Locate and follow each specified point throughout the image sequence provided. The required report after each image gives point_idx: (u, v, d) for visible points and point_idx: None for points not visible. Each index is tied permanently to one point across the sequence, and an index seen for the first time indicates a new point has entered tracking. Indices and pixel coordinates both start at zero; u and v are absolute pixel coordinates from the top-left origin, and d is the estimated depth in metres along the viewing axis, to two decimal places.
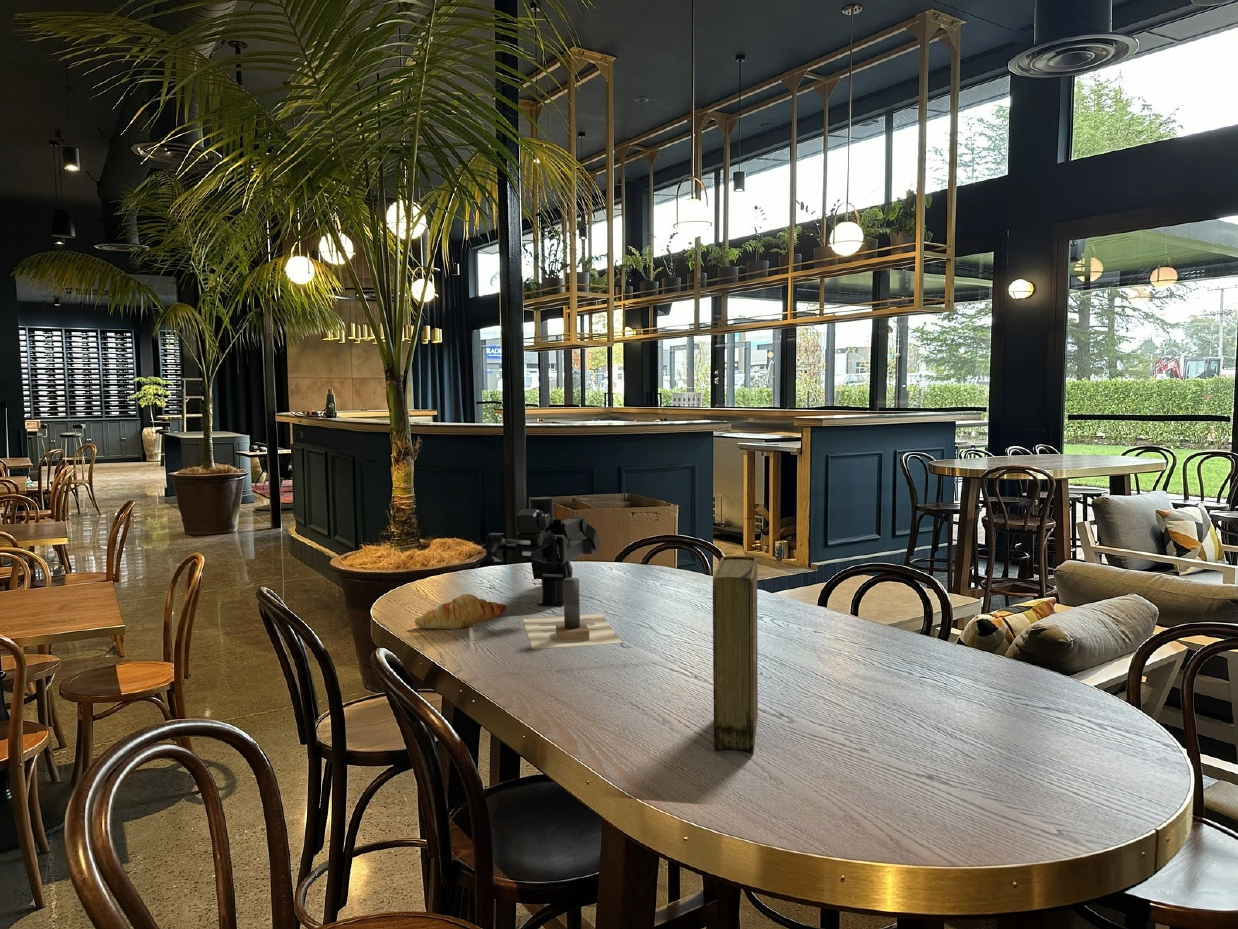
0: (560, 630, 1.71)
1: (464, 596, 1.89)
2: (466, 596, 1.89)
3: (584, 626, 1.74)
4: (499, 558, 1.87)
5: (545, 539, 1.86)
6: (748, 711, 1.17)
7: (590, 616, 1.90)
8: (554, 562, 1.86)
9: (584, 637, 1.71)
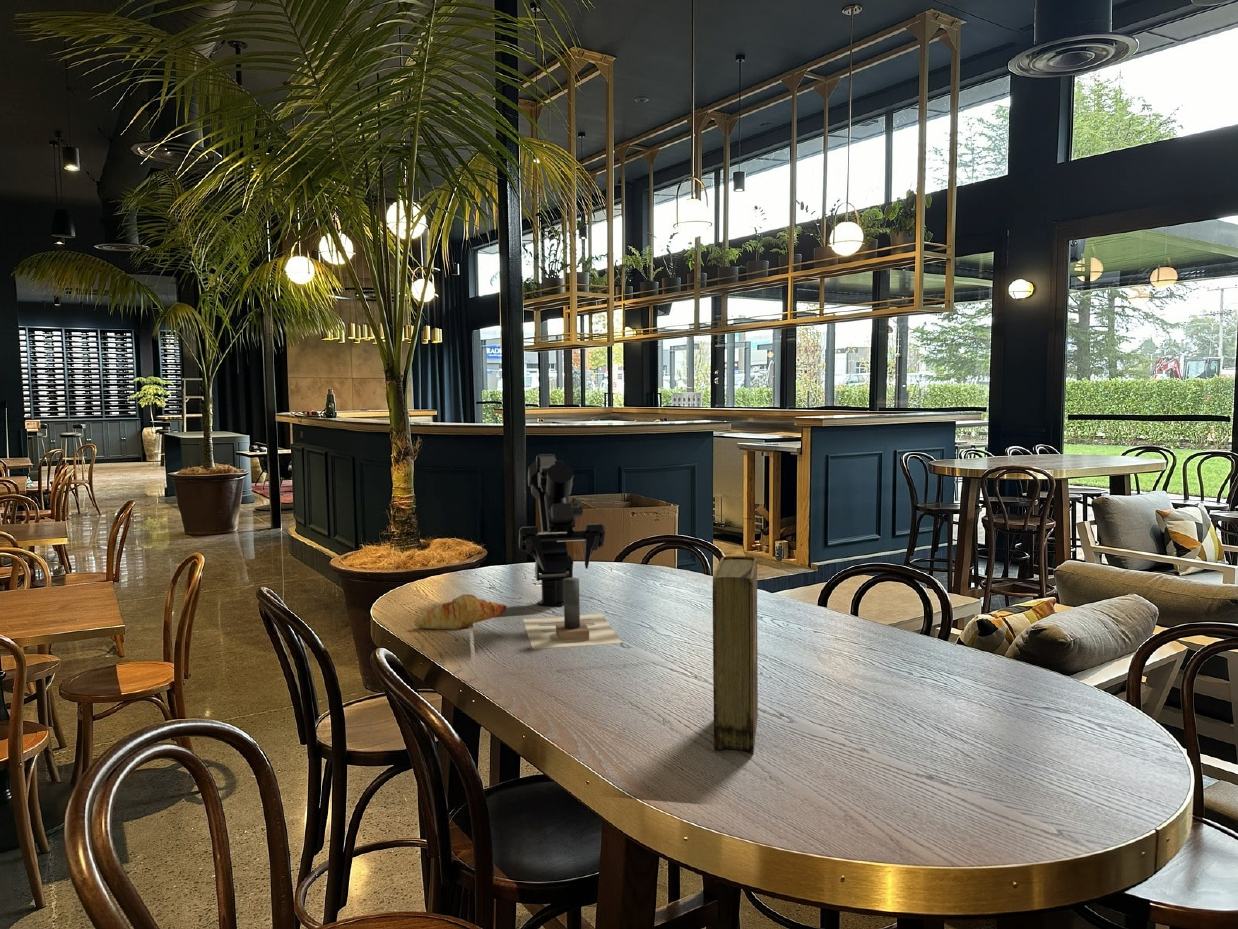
0: (560, 630, 1.71)
1: (464, 596, 1.89)
2: (466, 596, 1.88)
3: (584, 626, 1.74)
4: None
5: (588, 537, 1.83)
6: (748, 711, 1.17)
7: (590, 616, 1.90)
8: (594, 549, 1.88)
9: (584, 637, 1.71)
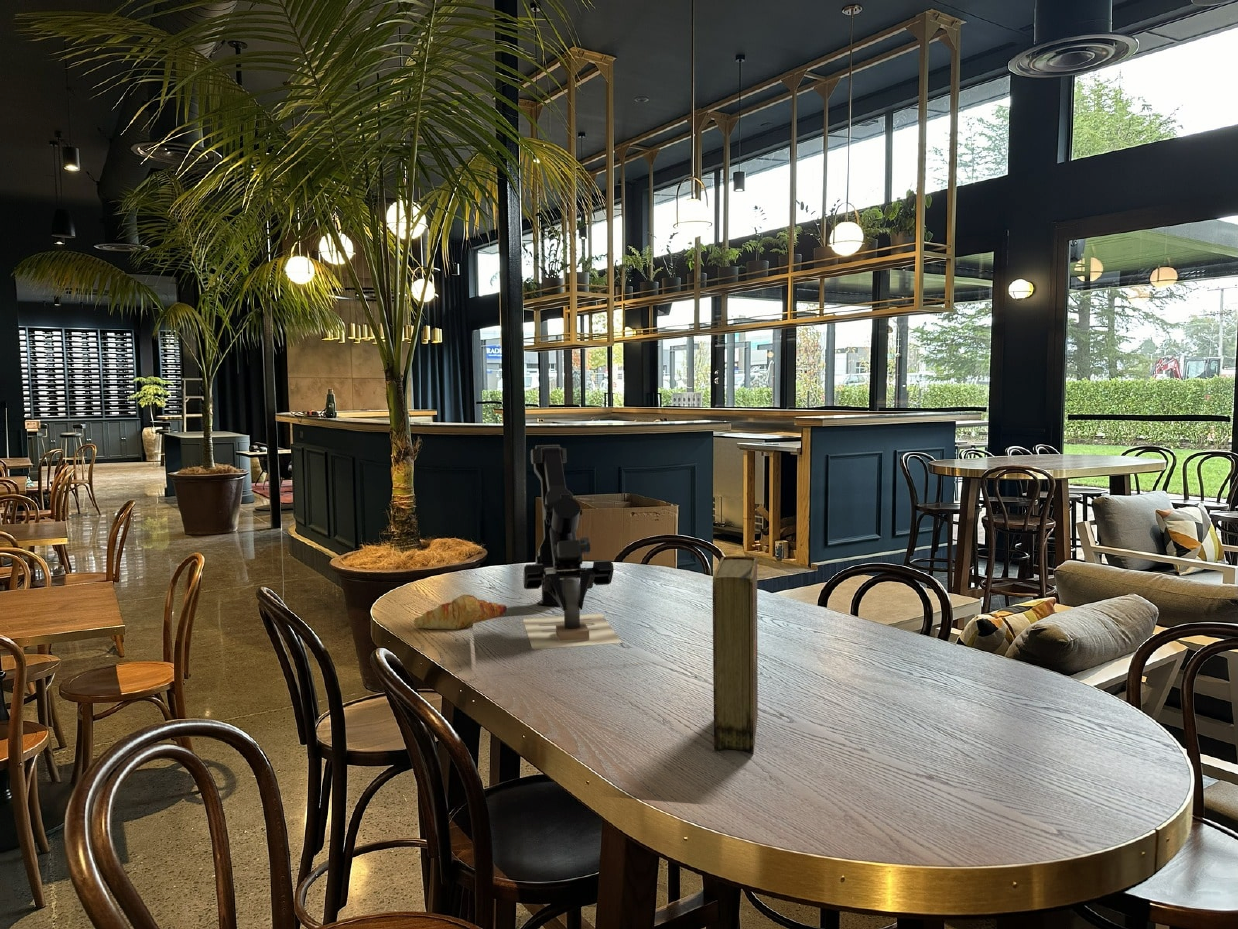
0: (560, 630, 1.71)
1: (464, 596, 1.88)
2: (466, 596, 1.88)
3: (584, 626, 1.74)
4: None
5: (583, 576, 1.75)
6: (748, 711, 1.17)
7: (590, 616, 1.90)
8: (589, 588, 1.79)
9: (584, 637, 1.71)
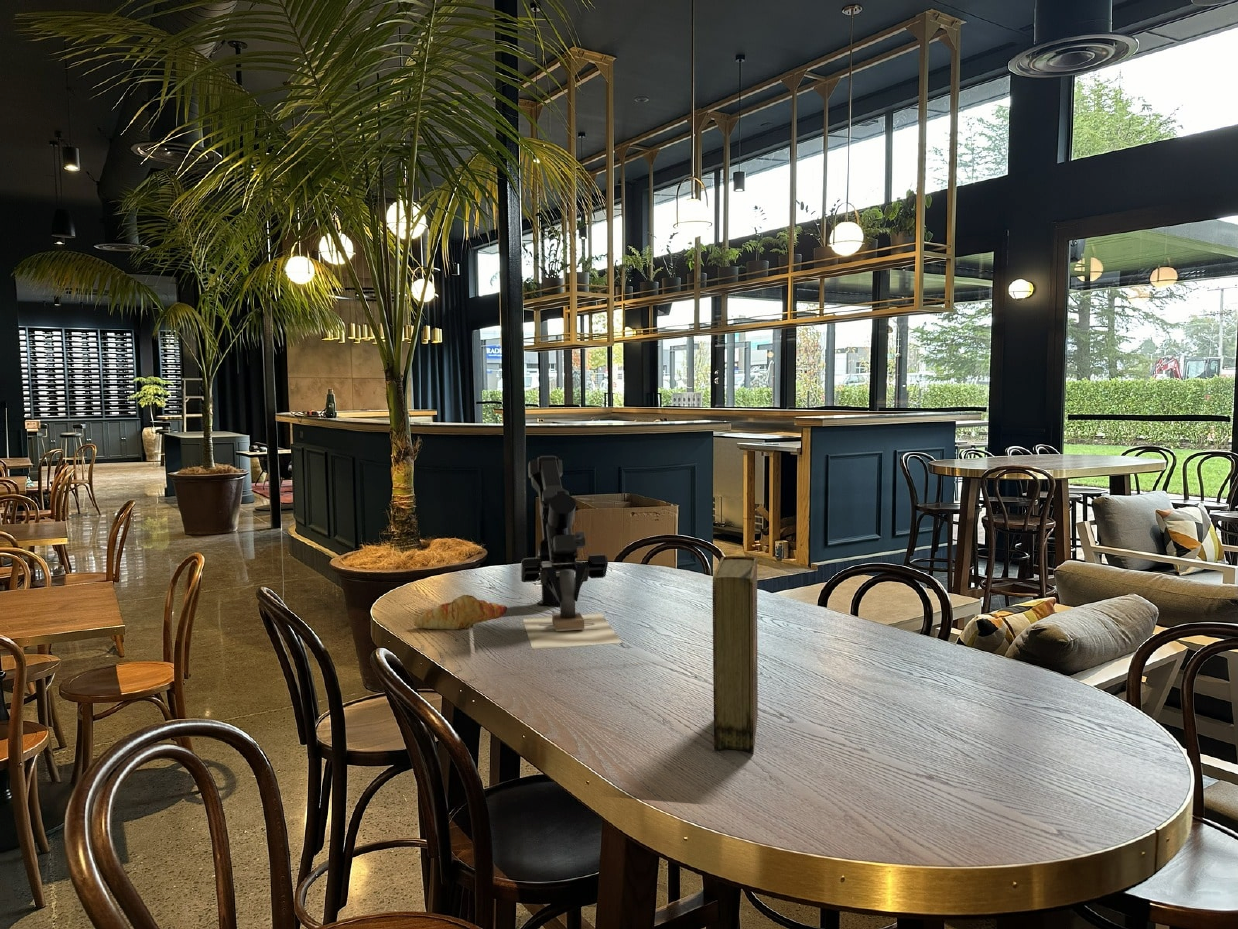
0: (556, 620, 1.78)
1: (463, 597, 1.88)
2: (465, 597, 1.88)
3: (579, 616, 1.80)
4: None
5: (578, 569, 1.81)
6: (748, 711, 1.17)
7: (590, 616, 1.90)
8: (584, 581, 1.86)
9: (579, 626, 1.77)
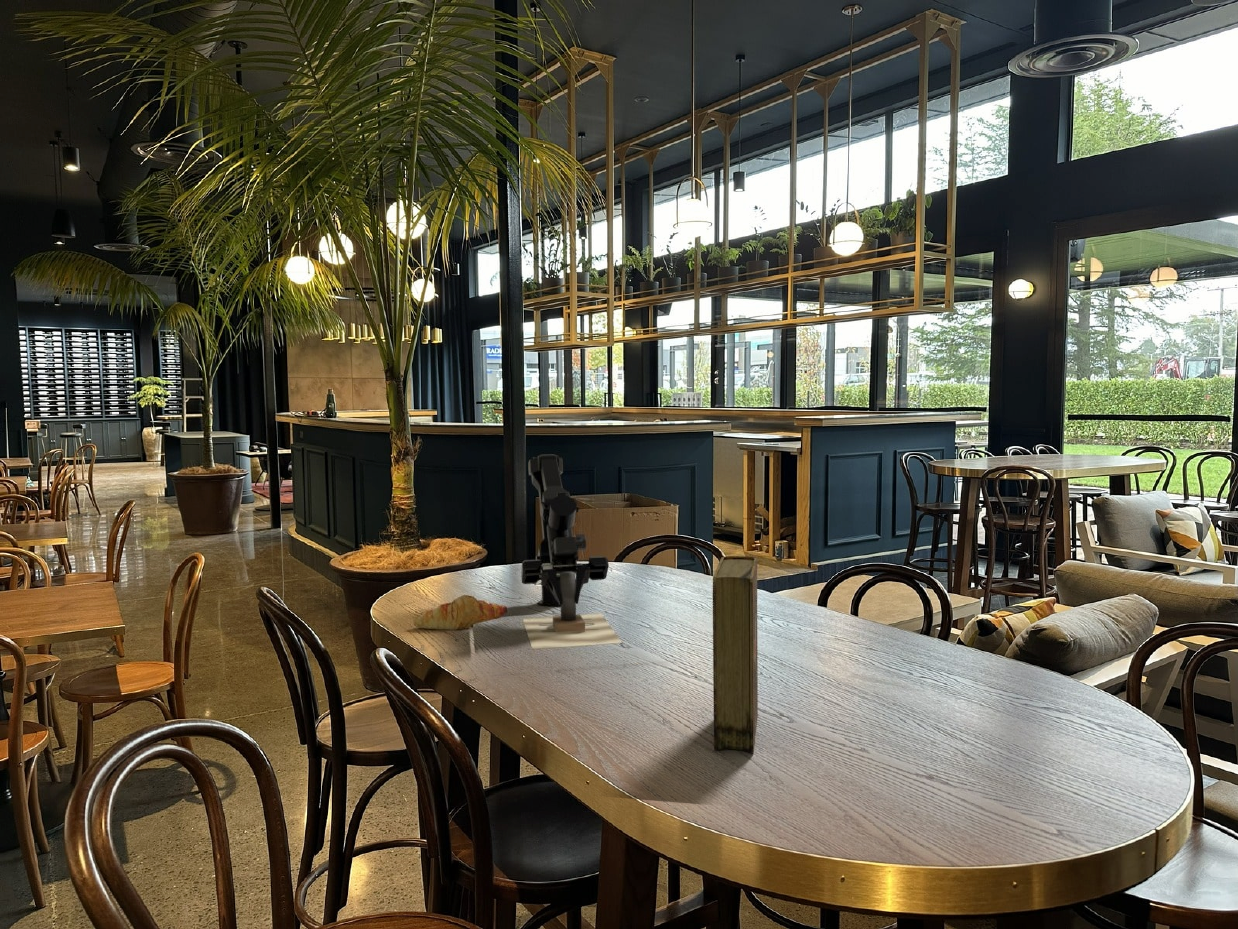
0: (557, 622, 1.77)
1: (463, 597, 1.88)
2: (465, 597, 1.88)
3: (580, 618, 1.80)
4: None
5: (579, 571, 1.81)
6: (748, 711, 1.17)
7: (590, 616, 1.90)
8: (585, 583, 1.85)
9: (580, 629, 1.77)
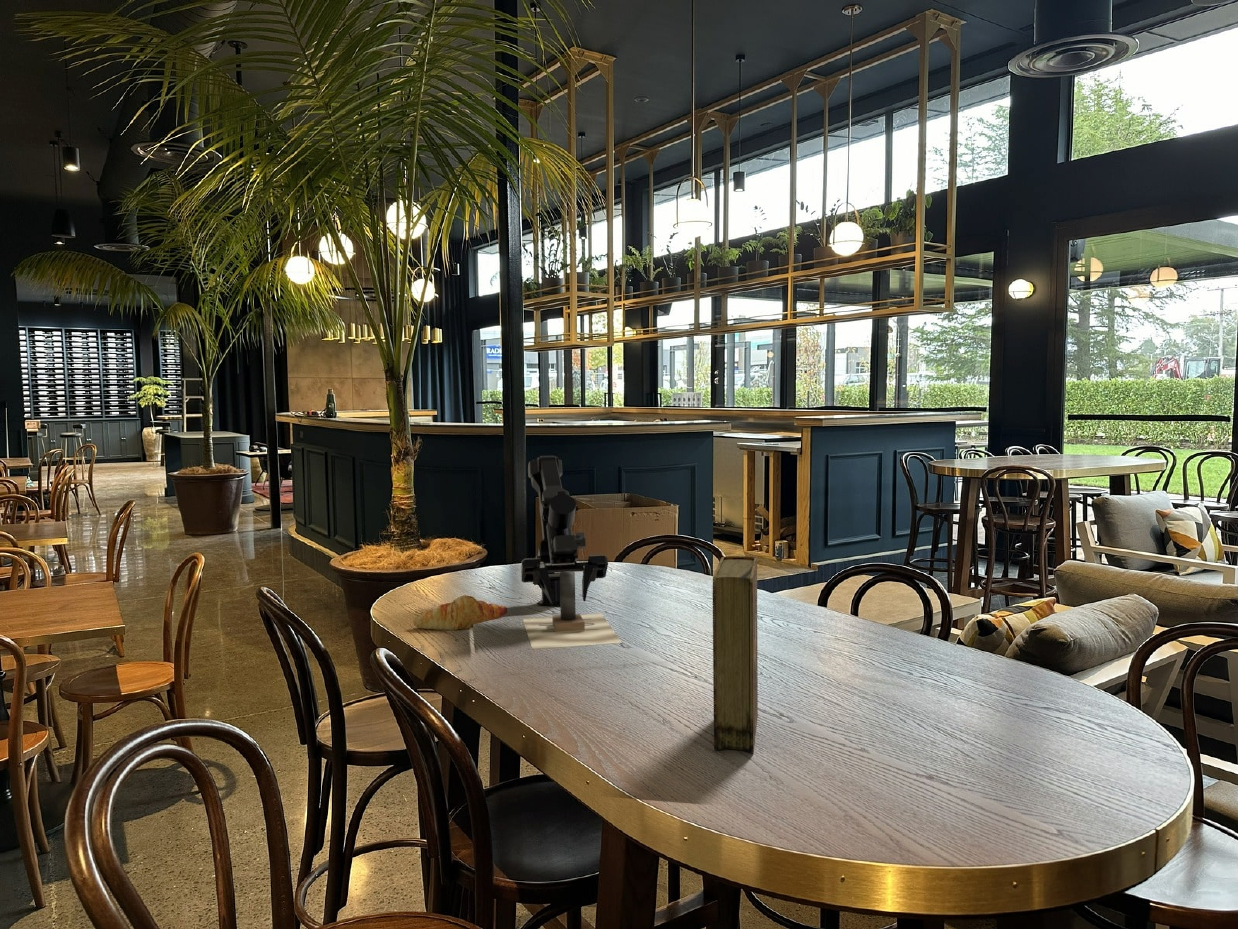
0: (556, 622, 1.78)
1: (463, 597, 1.88)
2: (465, 597, 1.87)
3: (580, 618, 1.80)
4: None
5: (586, 569, 1.82)
6: (748, 711, 1.17)
7: (590, 616, 1.90)
8: (592, 581, 1.86)
9: (579, 628, 1.77)
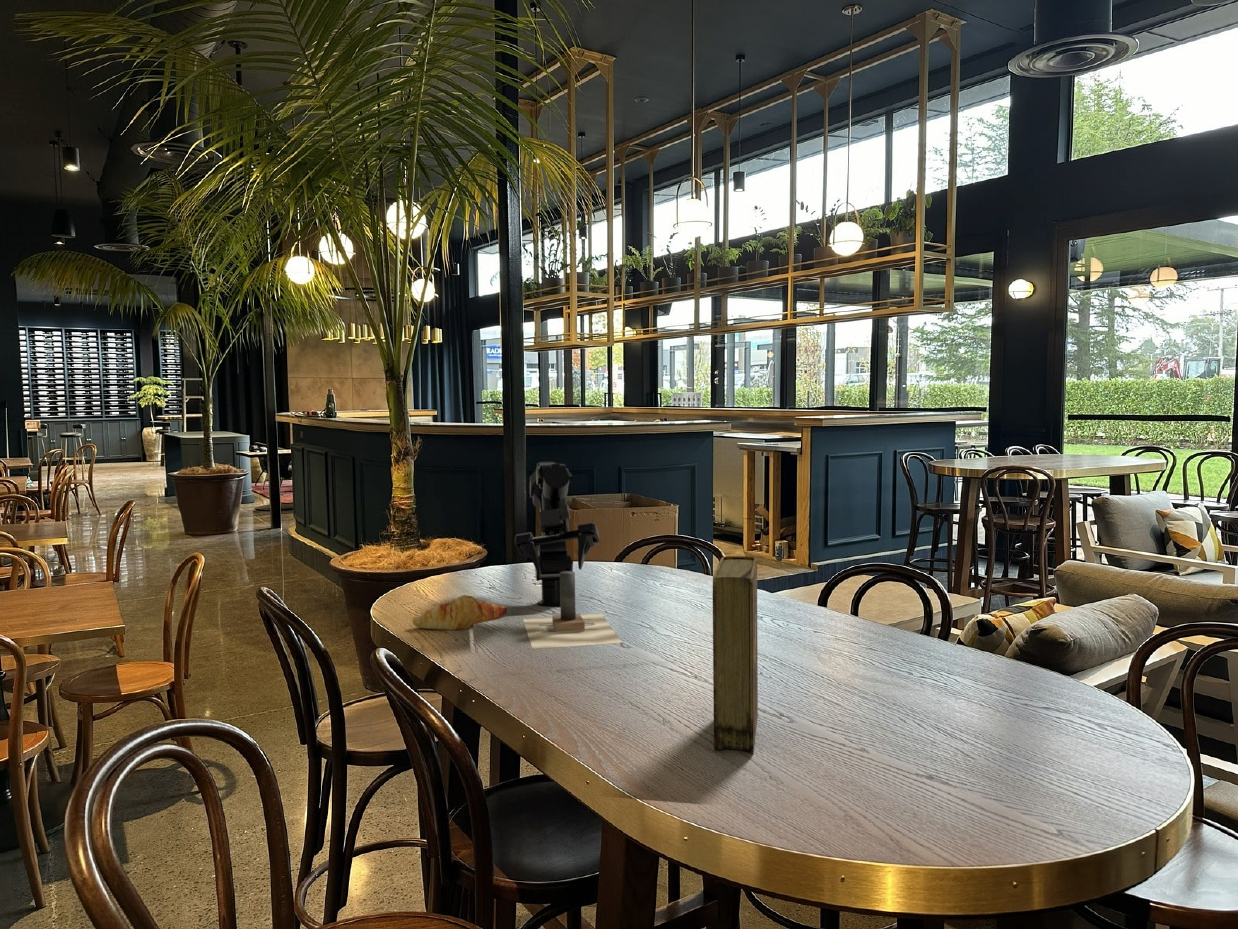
0: (556, 622, 1.78)
1: (463, 597, 1.87)
2: (464, 597, 1.87)
3: (580, 618, 1.80)
4: (539, 561, 1.90)
5: (579, 538, 1.87)
6: (748, 711, 1.17)
7: (590, 616, 1.90)
8: (591, 546, 1.91)
9: (579, 628, 1.77)
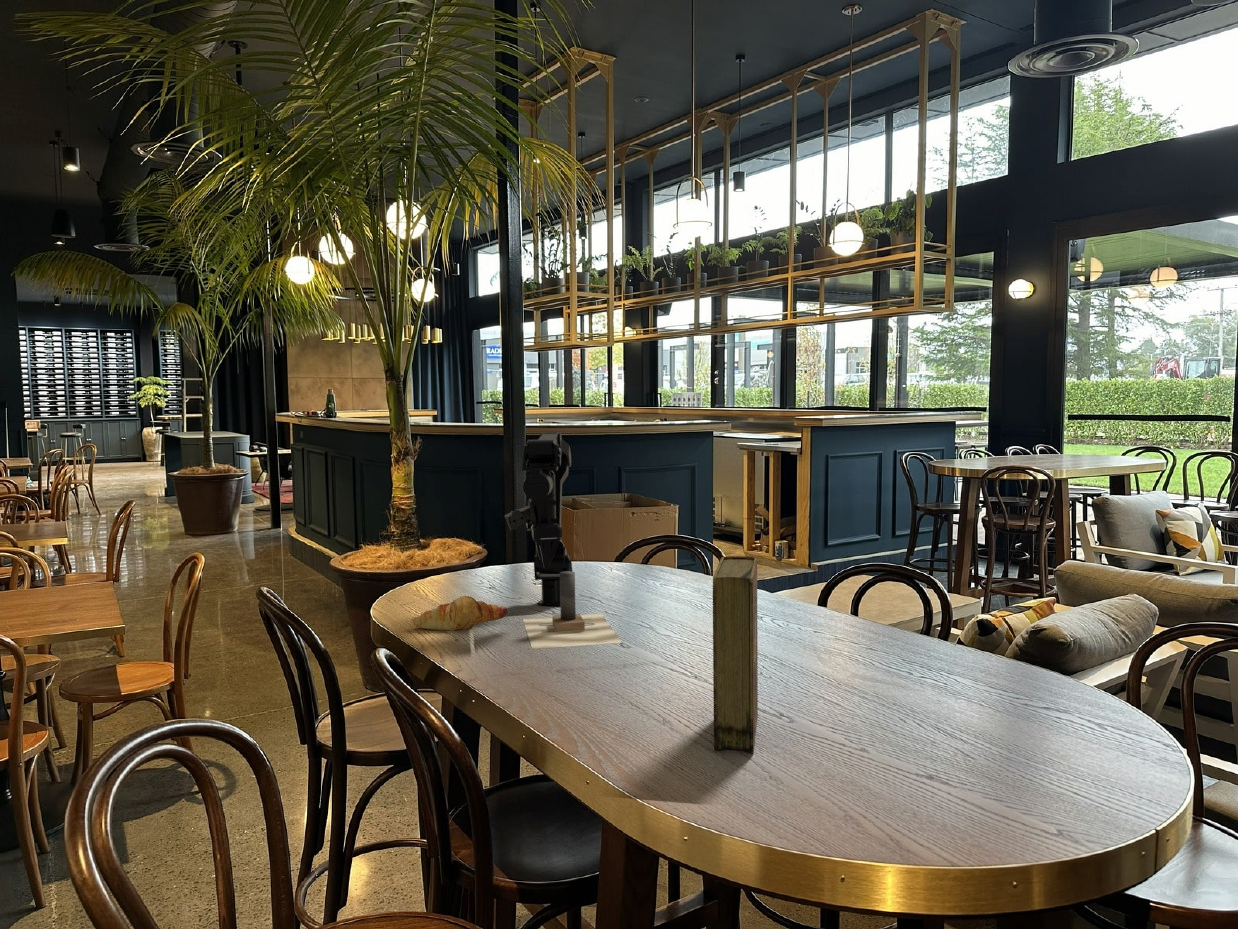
0: (556, 622, 1.78)
1: (462, 598, 1.87)
2: (464, 598, 1.87)
3: (580, 618, 1.80)
4: None
5: None
6: (748, 711, 1.17)
7: (590, 616, 1.90)
8: None
9: (579, 628, 1.77)
